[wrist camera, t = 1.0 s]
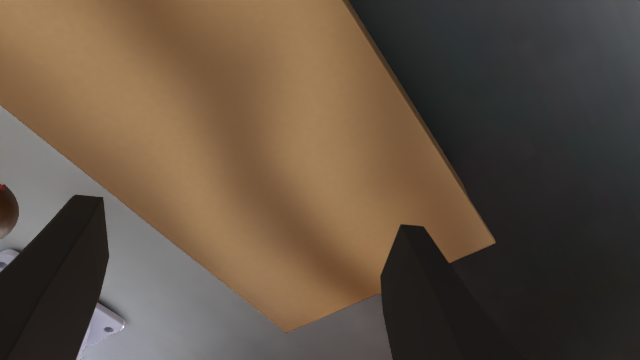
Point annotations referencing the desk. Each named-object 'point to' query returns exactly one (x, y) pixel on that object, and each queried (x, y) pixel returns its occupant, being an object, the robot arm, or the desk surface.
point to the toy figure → (7, 211)
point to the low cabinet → (241, 137)
